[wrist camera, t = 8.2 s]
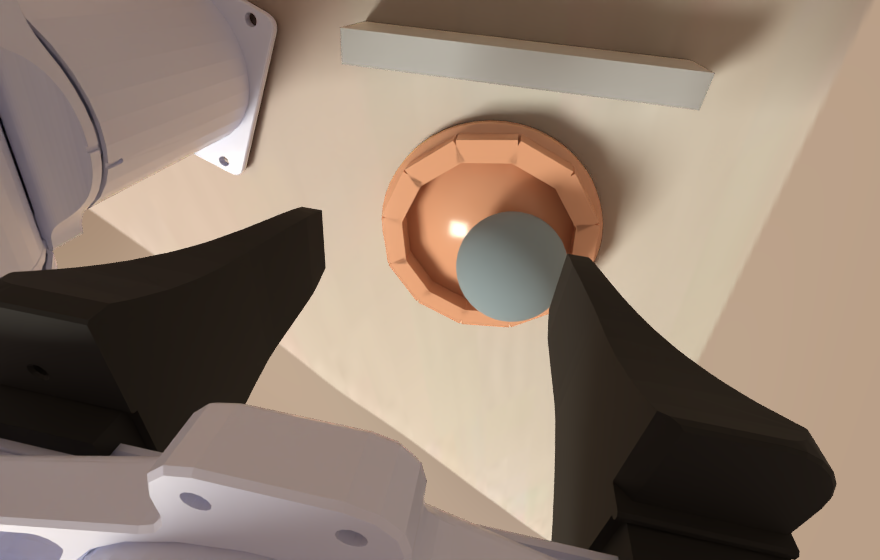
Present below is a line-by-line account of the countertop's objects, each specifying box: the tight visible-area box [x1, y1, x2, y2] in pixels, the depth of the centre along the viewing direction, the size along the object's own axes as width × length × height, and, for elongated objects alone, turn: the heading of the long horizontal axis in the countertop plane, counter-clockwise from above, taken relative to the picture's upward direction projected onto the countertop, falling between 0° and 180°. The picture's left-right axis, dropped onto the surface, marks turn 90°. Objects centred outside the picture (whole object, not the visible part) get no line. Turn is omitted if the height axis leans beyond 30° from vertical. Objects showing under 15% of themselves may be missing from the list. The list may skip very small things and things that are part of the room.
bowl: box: [382, 120, 603, 327], centre depth 22 cm, size 11×11×2 cm
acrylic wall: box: [340, 21, 715, 110], centre depth 16 cm, size 13×1×3 cm, turn 85°
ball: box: [456, 211, 567, 322], centre depth 20 cm, size 5×5×5 cm
